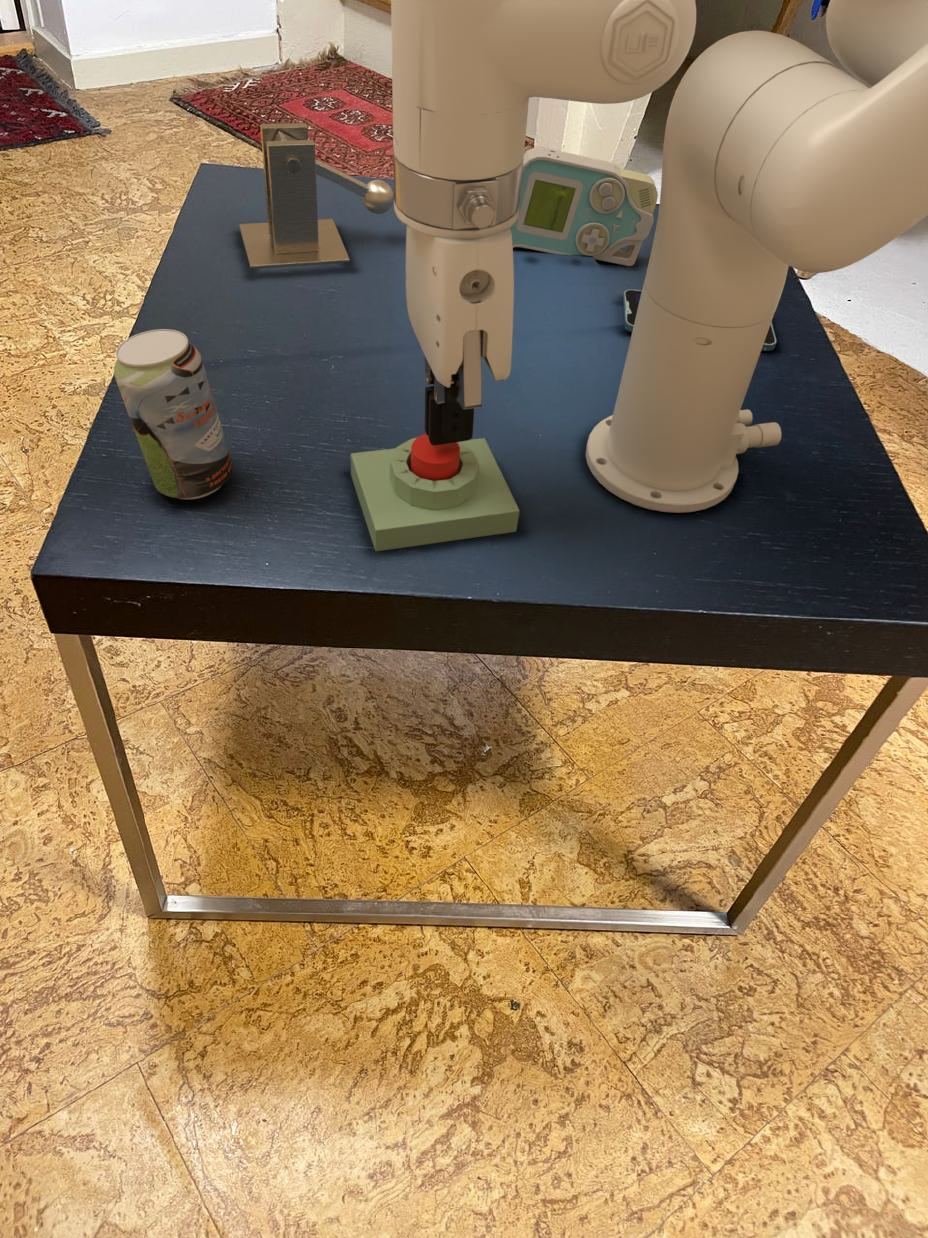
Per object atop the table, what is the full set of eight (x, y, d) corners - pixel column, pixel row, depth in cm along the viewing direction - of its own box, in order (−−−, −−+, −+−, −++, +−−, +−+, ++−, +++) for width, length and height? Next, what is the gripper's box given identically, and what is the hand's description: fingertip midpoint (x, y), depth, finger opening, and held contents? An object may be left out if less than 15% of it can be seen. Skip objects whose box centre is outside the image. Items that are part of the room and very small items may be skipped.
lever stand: (333, 229, 103) (330, 113, 94) (350, 270, 97) (348, 151, 88) (239, 234, 100) (227, 116, 92) (251, 277, 95) (239, 155, 86)
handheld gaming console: (630, 285, 104) (497, 258, 101) (627, 272, 106) (496, 246, 103) (668, 184, 96) (524, 152, 93) (663, 172, 98) (523, 141, 95)
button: (451, 449, 73) (452, 430, 72) (464, 478, 71) (465, 460, 69) (405, 454, 72) (406, 435, 71) (417, 484, 70) (418, 465, 68)
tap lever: (380, 210, 100) (394, 182, 98) (387, 224, 98) (402, 196, 96) (265, 155, 93) (279, 123, 91) (270, 169, 90) (284, 137, 89)
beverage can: (217, 517, 71) (196, 379, 62) (124, 498, 72) (90, 359, 63) (247, 466, 75) (231, 330, 66) (158, 449, 76) (131, 312, 67)
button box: (482, 459, 78) (487, 418, 75) (516, 532, 72) (523, 491, 70) (350, 475, 75) (350, 434, 73) (375, 552, 70) (375, 511, 67)
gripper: (560, 239, 52) (529, 494, 66) (481, 129, 61) (468, 372, 75) (427, 253, 50) (424, 511, 64) (367, 137, 60) (376, 384, 74)
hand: (448, 435), depth 70 cm, fingers closed
